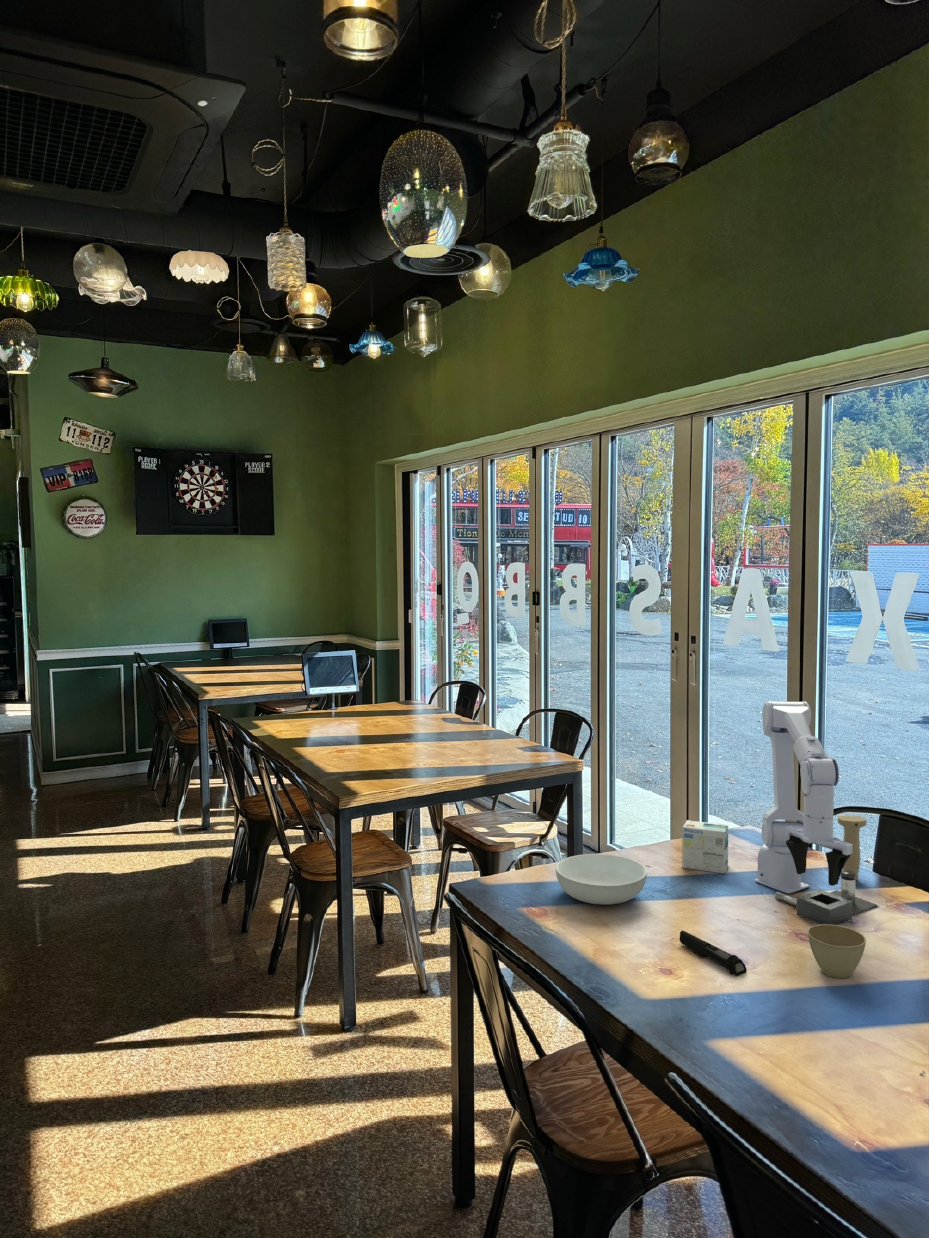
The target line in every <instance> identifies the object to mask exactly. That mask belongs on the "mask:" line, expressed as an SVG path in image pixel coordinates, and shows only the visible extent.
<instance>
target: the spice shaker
mask: <svg viewBox="0 0 929 1238" xmlns="http://www.w3.org/2000/svg"><path fill="white" fill-rule="evenodd" d="M840 891H841V897H842V898H845V899H848V900H851V901H853V906H854V905H855V897H856V880H855V872H852V871H848V870H844V871H843V870H842V871H841V874H840Z"/></svg>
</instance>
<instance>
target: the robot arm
mask: <svg viewBox="0 0 929 1238" xmlns="http://www.w3.org/2000/svg"><path fill="white" fill-rule="evenodd" d="M761 713H762V714H761V717H762V730H763V735H764V736H766V737H769V738H770V742H771V753H772V754H771V756H772V776H773V777H772V778H773V781H772V782H773V799H774V802H773V803H774V806H773V807H772V808H770V809H769V810H768V811H766V812H765V813H764V814H763V816H762V825H761V837H762V842H763V845H761V847H760V848H759V849H758V853H757V854H758V855H757V878H755V880H754V881H755V882H756V883H759V884H761V885H764V886H766V887H769V888H772V889H774V890H777V891H778V892H781V893H782V892H783V893H784V894H786V895H787V894H792V893H796V892H798V891H801V890H804V889H807V888H809V887H810V885H809V884H808V883H805V882H802V875H803V874H805V873H806V870H807V858H808V857H807V856H808V850H809V846H810V844H813V845H816V846H820V847H823V848H826V849H830V850H831V851H828V852H825V853H824V854H825V858H826V862H827V868H828V876H827V877H828V881H827V882H828V885H829V886H832V887H834V886H836V885H838V884H839V880H840V878H841V871H843V867H844V865H845V863H846V861H847V860H848V858H849V857H850V855H851V854H852V851H853V845H852V844H850V843H847V842H845V841H843V840H844V839H843V840H842V839H840V838H838V837H836V836H834V800H835V798H834V797H835V796H834V795H835V787H836V786H838V784H839V781H840V770H839V765H838V763H837V760H836V758H834V757H832V756H831V755H827V753H826V751H825V749H824V747H823V745H822V743H821V741H820V740H819V738H817V737H816V736H813V735H812V732H811V730H810V725H811V722H812V710H811V706H810V705H809V703H808V702H807V701H805V700H803V701H769V700H767V701H765V703H764V704H763V707H762V712H761ZM794 754H795V756H796V759H797V761H798V763H799V766H800V769H799V770H800V773H799V774H800V779H801V788H802V789H801V791H802V792H803V812H801V810H799V809H797V806H796V805H797V804H796V785H795V781H796V780H795V765H794V764H795V762H794ZM780 820H782V821H780ZM783 820H784V821H783ZM785 820H786V821H785ZM789 820H790V821H789Z"/></svg>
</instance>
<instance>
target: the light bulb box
mask: <svg viewBox="0 0 929 1238" xmlns="http://www.w3.org/2000/svg"><path fill="white" fill-rule="evenodd" d="M681 837H682V846H681V847H682V853H681V854H682V858H681V859H682V861H681V863H682V864H681V865H682V866H681V868H682V869H690V870H697V871H703V872H712V873H719V874H725V873H726V872H727V869H728V866H729V824H727V823H726V824H724V823H714V822H706V821H705V822H704V821H697V820H696V821H695V820H688V819H687V820H686V821H685V823H684V824H683V825H682V836H681Z"/></svg>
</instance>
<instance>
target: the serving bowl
mask: <svg viewBox="0 0 929 1238" xmlns="http://www.w3.org/2000/svg"><path fill="white" fill-rule="evenodd" d="M555 875H556V878H557V879H556V880H557V882H558V884H559V885H560V887H561V888H562V890H563V891H564V892H565V893H566V894H567V895H569V897H572V898H573V899H576V900H577V901H580V902H583V903H588V904H592V905H593V904H594V905H600V906H601V905H607V906H608V905H616V904H621V903H625V902H627V901H631V900H632V899H634V898H635V897H636V896H638V895H639V894H640V893H641V892H642V890H643V889H644V887H645V885H646V882H647V876H648V871H647V868H646V867H645V865H643V864H642V863H640V862H639V861H637V860H634V859H632V858H629V857H625V856H621V855H615V854H608V853H585V854H578V855H573V856H569V857H568V856H567V857H565V858H564V859H561V860H560V861H558V862H557V863H556V865H555Z"/></svg>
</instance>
